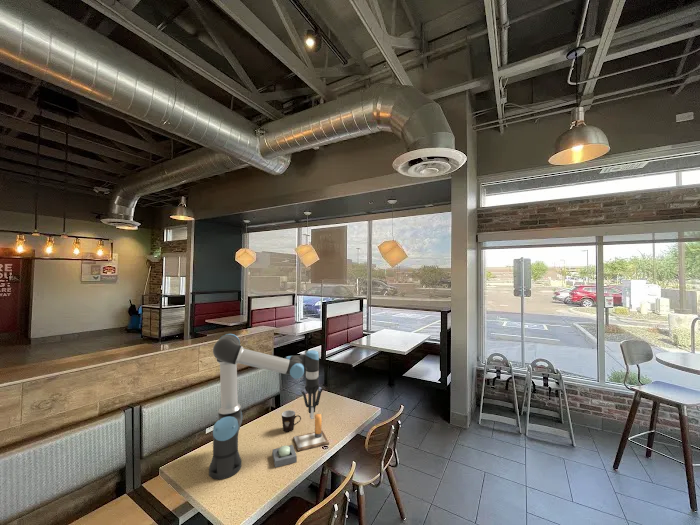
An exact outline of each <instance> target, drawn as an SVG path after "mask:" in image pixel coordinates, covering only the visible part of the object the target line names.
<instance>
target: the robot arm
mask: <svg viewBox="0 0 700 525" xmlns="http://www.w3.org/2000/svg"><path fill="white" fill-rule="evenodd" d="M213 345H214V346H213V348H212V353H213V356H214V358H215V359H216V362H217V363H218V364H219V374H220V375H219V376H220V406H221V407H220V408H219V409H218V411H217V412H218V420H217V421H216V422H215V423H214V425H213V429H212V458H211V461H210V465H209V467H208V475H209V477H210V478H211V479H214V480H225V479H227V478H228V479H229V478H230V477H233V476H235V475H236V474H237V473H238V472H240V470H241V468H242V458H241V455H240V453H239V433H240V428H241V425H242V422H243V413H242V406H241V404H240V403H239V397H238V394H239V392H238V369H237V368H238V364H240V365H245V366H249V367H253V368H258V369H261V370H267V371H271V372H275V373H279V374H283V375H286V376H287V375H289V376H291V377H292V378H293V379H295V380H299V379H301V378H302V377H303V376H304V373H305V387H304V388H303V389H302V390H301V394H302V397H303V401H304V406H306V408H307V410H308V413H309V418H310V420H315V413H316V408H317V406H319V403H320V400H321V395H322V392H323V390H324V389H323V388H322V387H321V386H320V385H319V381H320V380H319V374H320V373H319V370H320V368H319V367H320V358H319V356H320V355H319V352H318V351H317V350H315V349H314V350H313V349H311V350H306V352H305V354H300V355H288V356H285V357H284V358H283V357H280V356H277V355H272V354H268V353H264V352H260V351H255V350H251V349H248V348H244V347H243V345H241V341H240V338H239V337H238V336H237V335H236V334H233V333H226V334H224V335H222V336H220V337H219V339H218V340H217V341H216V342H215V343H214V344H213ZM306 393H307V394H308V395H306ZM307 396H308V400H307Z"/></svg>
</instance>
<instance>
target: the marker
mask: <svg viewBox="0 0 700 525" xmlns="http://www.w3.org/2000/svg"><path fill="white" fill-rule="evenodd" d="M322 419H323V418H322V414H321V413H316V414H314V432H315V437H316V438H320V437H321V436H322V431H323V430H322V425H323V424H322Z"/></svg>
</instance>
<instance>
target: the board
mask: <svg viewBox="0 0 700 525" xmlns="http://www.w3.org/2000/svg"><path fill="white" fill-rule="evenodd" d="M293 441H294V444H295V447H296V449H297V452H303V451H307V450H311V449H316V448H319V447H324V446H328V445H330V441H329V440H328V438H327V436H326V435H325V433H324V431H323V430H322V436H321V437H320V438H316V437H315V431H314V432H308V433H304V434H300V435H299V434H298V435H295V436H293Z"/></svg>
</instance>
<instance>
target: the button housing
mask: <svg viewBox="0 0 700 525" xmlns="http://www.w3.org/2000/svg"><path fill="white" fill-rule="evenodd" d="M288 446H289V447H290V456H286V457H282V458H280V457H279V448H280V447H277V448H273V449H272V458H273V463H274V464H273V465H274V468H280V467H283V466H287V465H290V464H295V463H297V459H298V457H297V454H296V450H295V448H294V447H295V446H294V445H293V444H290V445H288Z"/></svg>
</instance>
